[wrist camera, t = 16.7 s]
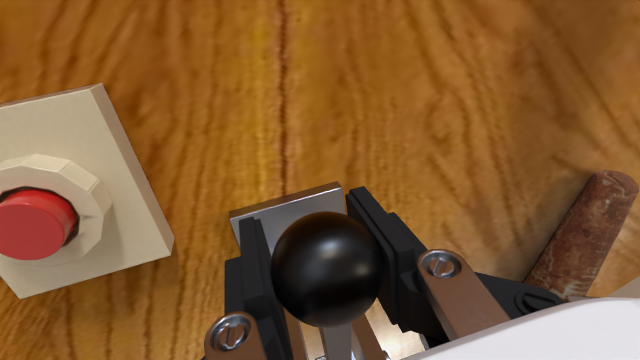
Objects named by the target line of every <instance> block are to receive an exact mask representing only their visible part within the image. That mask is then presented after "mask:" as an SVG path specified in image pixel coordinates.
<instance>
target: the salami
mask: <svg viewBox="0 0 640 360" xmlns="http://www.w3.org/2000/svg"><path fill="white" fill-rule="evenodd" d="M638 192H639V188H638V185H637V183H636V182H635V181H634V180H633V179H632V178H631V177H630V176H628V175H626V174H623V173H620V172H617V171H612V170H603V171H600V172H598V173H596V174H594V175H593V176H592V178H591V179H590V181H589V183H588V184H587V186H586V187H585V189H584V190H583V192H582V193H581V195H580V197H579V198H578V200H577V201H576V203H575V204H574V206H573V207H572V208H571V209H570V210H569V212H568V214H567V215H566V217H565V218H564V220H563V221H562V223H561V224H560V226H559V228H558V229H557V231H556V233H555V235H554V236H553V238H552V239H551V241H550V242H549V244H548V246H547V247H546V249H545V251H544V252H543V254H542V255H541V257H540V258H539V260H538V261H537V263H536V265H535V266H534V268H533V270H532V271H531V272H530V274H529V275H528V276H527V278H526V280H525V281H524V284H528V285H532V286H536V287H540V288H543V289H546V290H549V291H550V292H552V293H554V294H556V295H557V296H559V297H560V298H561V299H565V295H574V296H585V295H586V294H587V291H588V290H589V288H590V286H591V284H592V282H593V280H594V279H595V277H596V276H597V274H598V272H599V270H600V268H601V266H602V264H603V262H604V260H605V258H606V256H607V254H608V252H609V250H610V248H611V246H612V244H613V242H614V241H615V239H616V237H617V236H618V234H619V232H620V230H621V228H622V226H623V223H624V221H625V219H626V217H627V215H628V213H629V211H630V208H631V206H632V204H633V202H634V200H635V198H636V196H637V194H638Z"/></svg>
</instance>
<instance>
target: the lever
mask: <svg viewBox="0 0 640 360" xmlns="http://www.w3.org/2000/svg"><path fill="white" fill-rule="evenodd" d="M382 279H383V261H382V256H381V253H380V249H379V247H378V244H377V242H376V241H375V239H374V237H373V236H372V234H371V233H370V232H369V231H368V230H367V229H366V228H365V227H364V226H363V225H362V224H361V223H360V222H358V221H357V220H355V219H354V218H352V217H350V216H347V215H345V214H342V213H337V212H331V211H324V212H315V213H311V214H308V215H306V216H303V217H301V218H299V219H298V220H296V221H295V222H294V223H292V224H291V225H290V226H289V227H288V228H287V229H286V230H285V231H284V232H283V233H282V235H281V236H280V238H279V239H278V241H277V243H276V245H275V248H274V251H273V254H272V258H271V280H272V284H273V288H274V291H275V293H276V296H277V298H278V299H279V301H280V303H281V304H282V306H283V307H284V308H285V309H286V310H287V311H288V312H289V313H290V314H291V315H292V316H294V317H295V318H296V319H298V320H300V321H301V322H303V323H306V324H308V325H311V326H314V327H319V330H320V335H321V339H322V344H323V349H324V353H325V356H322V357H319V358H316V359H315V360H356V357H355V355H354V352H353V349H352V342H351V322H353V321H355V320H356V319H358V318H359V317H361V316H362V315H363V314H364V313H365V312H366V311H367V310H368V309H369V308H370V307H371V305H372V304H373V303H374V301H375V299H376V297H377V295H378V293H379V291H380V288H381V284H382Z"/></svg>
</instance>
